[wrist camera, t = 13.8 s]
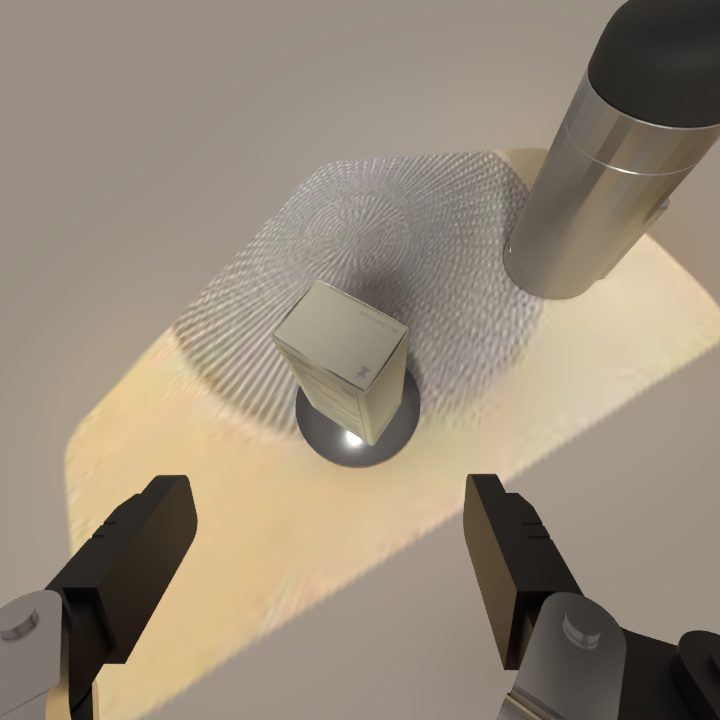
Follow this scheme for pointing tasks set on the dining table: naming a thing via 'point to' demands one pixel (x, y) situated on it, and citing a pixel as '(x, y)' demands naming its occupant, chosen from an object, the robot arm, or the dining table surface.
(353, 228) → the dining table surface
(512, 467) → the dining table surface
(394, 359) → the skincare box
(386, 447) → the dark gray bowl
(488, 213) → the dining table surface
